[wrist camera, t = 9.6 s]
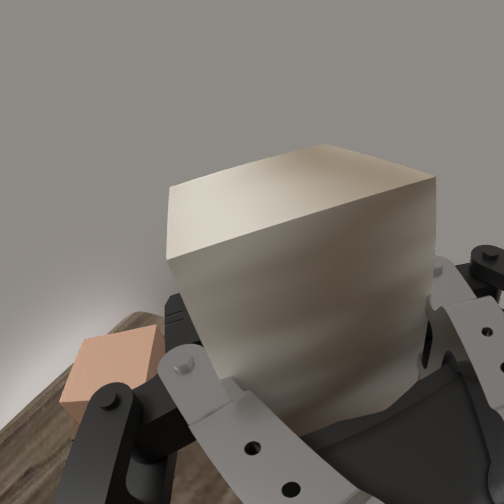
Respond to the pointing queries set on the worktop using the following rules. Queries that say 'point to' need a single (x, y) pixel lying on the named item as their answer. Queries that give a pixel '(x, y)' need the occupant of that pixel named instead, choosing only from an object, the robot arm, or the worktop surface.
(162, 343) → the tower top block
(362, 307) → the cream block
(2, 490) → the worktop surface
